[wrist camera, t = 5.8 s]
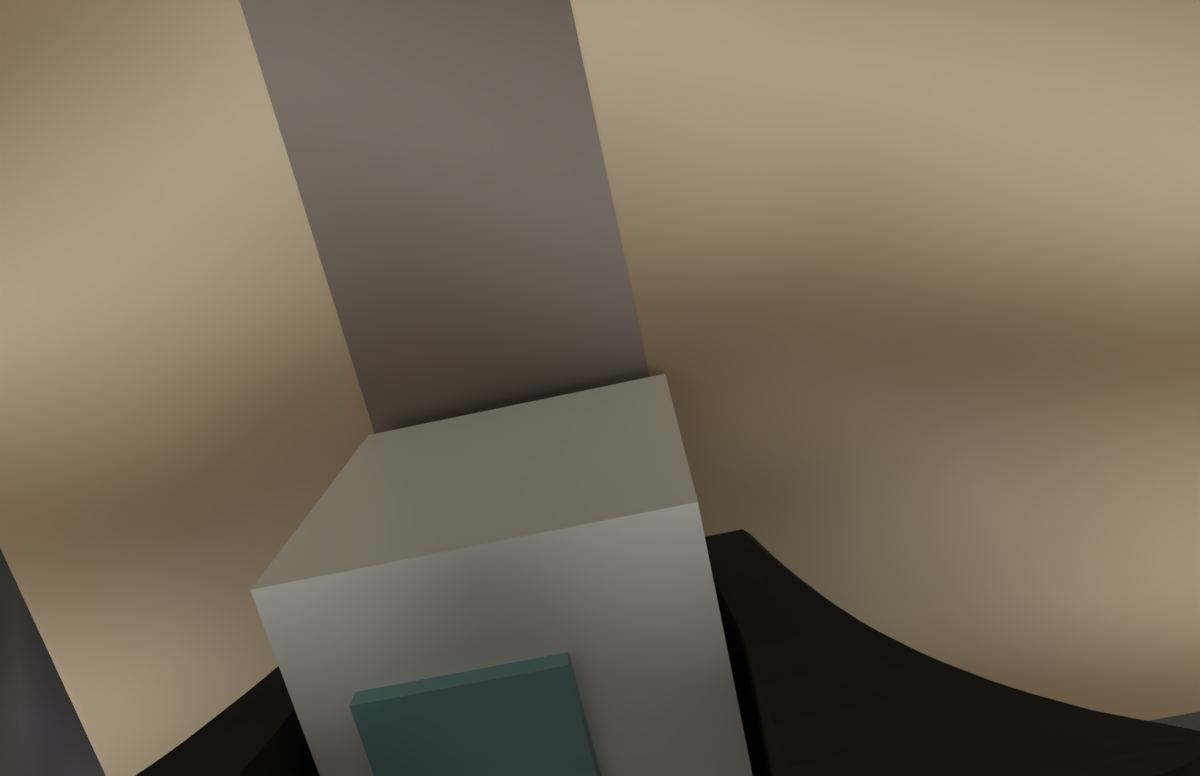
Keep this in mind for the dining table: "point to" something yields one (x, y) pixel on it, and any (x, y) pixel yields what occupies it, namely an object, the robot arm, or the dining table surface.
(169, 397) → the subfloor panel
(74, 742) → the dining table surface
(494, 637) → the block
